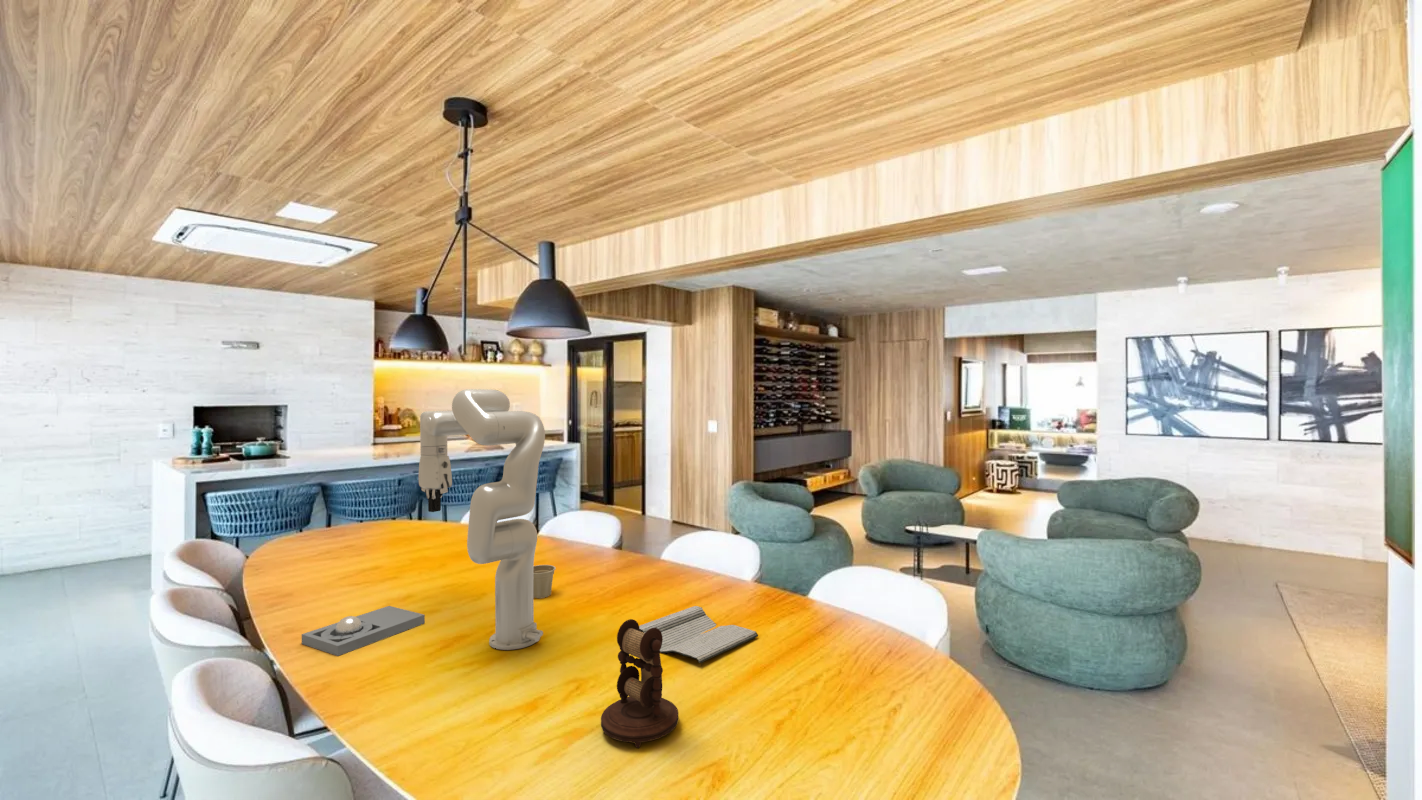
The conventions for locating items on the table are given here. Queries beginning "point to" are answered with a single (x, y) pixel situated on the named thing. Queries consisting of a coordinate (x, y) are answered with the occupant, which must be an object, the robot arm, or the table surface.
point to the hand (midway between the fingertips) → (434, 511)
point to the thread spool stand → (639, 690)
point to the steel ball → (348, 626)
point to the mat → (697, 634)
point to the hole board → (364, 630)
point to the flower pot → (542, 580)
